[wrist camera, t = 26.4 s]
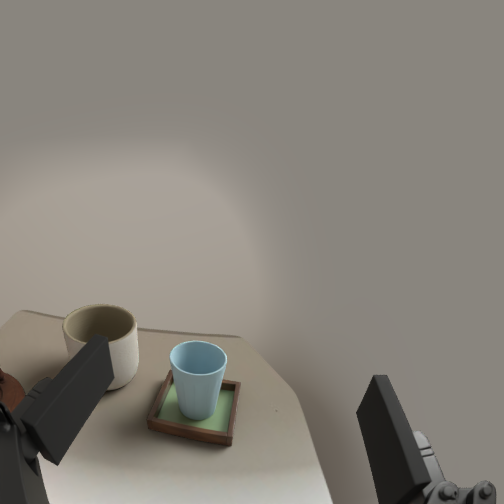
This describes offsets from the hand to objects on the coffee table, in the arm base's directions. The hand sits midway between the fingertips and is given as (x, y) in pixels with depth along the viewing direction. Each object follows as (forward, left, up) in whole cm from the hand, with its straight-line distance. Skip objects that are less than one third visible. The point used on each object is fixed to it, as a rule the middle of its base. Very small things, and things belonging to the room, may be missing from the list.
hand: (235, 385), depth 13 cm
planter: (+23, -24, -26) cm, 42 cm away
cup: (+6, -21, -25) cm, 33 cm away
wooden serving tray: (+6, -21, -26) cm, 34 cm away
